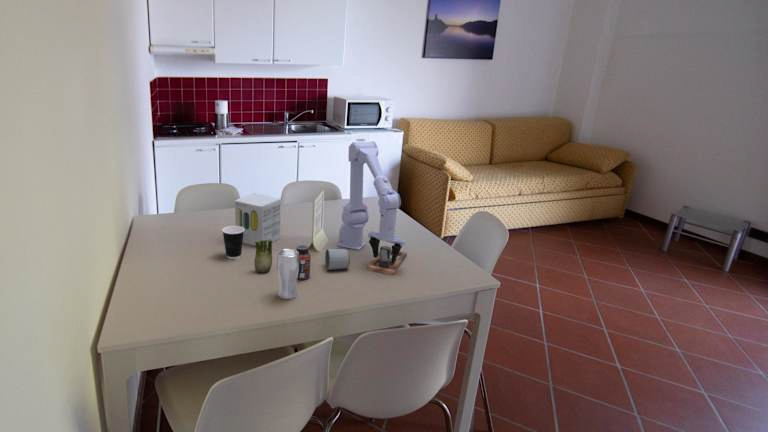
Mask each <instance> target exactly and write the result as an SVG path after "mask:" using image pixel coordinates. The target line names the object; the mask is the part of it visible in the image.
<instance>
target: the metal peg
mask: <svg viewBox="0 0 768 432" xmlns="http://www.w3.org/2000/svg"><path fill="white" fill-rule="evenodd" d="M391 249H392V247H391V246H388V245H383V246H379V252H380V258H379V262H378V267H382V268H387V269H390V266H391V265H390V258H391V255H392V254H391Z"/></svg>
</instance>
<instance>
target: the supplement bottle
mask: <svg viewBox="0 0 768 432" xmlns="http://www.w3.org/2000/svg"><path fill="white" fill-rule="evenodd" d="M295 250H297V251H298V252H299V272H298V277H297V280H299V281H305V280H307V279H309V278H310V277H311V259H312V258H311V257H312V255H311V252H309V247H308V245H305V244H304V245H303V244H302V245H297V246H296V249H295Z"/></svg>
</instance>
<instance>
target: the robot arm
mask: <svg viewBox="0 0 768 432" xmlns="http://www.w3.org/2000/svg"><path fill="white" fill-rule="evenodd" d="M378 156H379V148H378V145H377V143H376V142H375V141H364V142H363V141H361V142H360V141H359V142H358V141H357V142H355V141H353V142H351V143H350V144H349V146H348V162H350V163H349V165H350V171H349V172H350V176H349V177H350V178H349V202H348V203H346V204H345V205H344V206H343V211H342V214H341V221H342V223H341V224H340V227H339V233H338V234H339V235H338V244H337V245H338V247H342V248H347V249H353V250H357V251H359V250H361V249H362V248H363V247H364V246H365V245H366V241H365V242H364V241H363V238H364V227H365V226H366V224H368V221H369V217H370V215H369V211H368V206H367V205H366V204H365V203H363V199H364V197H363V196H364V165H365V164H366V165H367V167H368V169H369V171H370V173H371V175H372V177H373V178H374V180H373V185H374V189H375V190H376V193H377V196H378V198H379V199H378V202H377V203H378V208H379V209H378V210H379V214H380V217H379V218H380V219H379V230H378V232H376V231H369V232H367V238H369V240H368V244H369V245H370V247H371V250H372V254H373V255H372V256H373V259H374V258H376V257H377V256H378V254H379V250H380V243H381V241H383V242H386V243H390V244H393V245H391V249H392V254H391V258H392V263H394V262H395V261H396V259H398V256H397V255H398V253H399V251H401V249H403V247H404V246H405V245H406V240H405V239H402V238H400V237H398V236H396V235H395V233H396V221H397V211H398V210H397V209H400V207H401V205H402V201H401V196H400V194H399V193H398V192H396V191H395V190H394V189H393V186H392V184H391V182H390V180H389V178H388V177H387V176H386V175H384V174H383V169H382V168H381V164H380V162H379V158H378Z"/></svg>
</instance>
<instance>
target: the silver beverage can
mask: <svg viewBox="0 0 768 432" xmlns="http://www.w3.org/2000/svg"><path fill="white" fill-rule="evenodd" d="M276 271H277V275H278V283H279V285H278V287H279V288H278V293H277V295H278V297H279V298H280V299H283V300H293V299H295V298H297V296H298V290H297V281H298V279H297V277H298V272H299V252H298V251H297V250H296V249H293V248H282V249H281V250H278V252H277V259H276Z"/></svg>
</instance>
